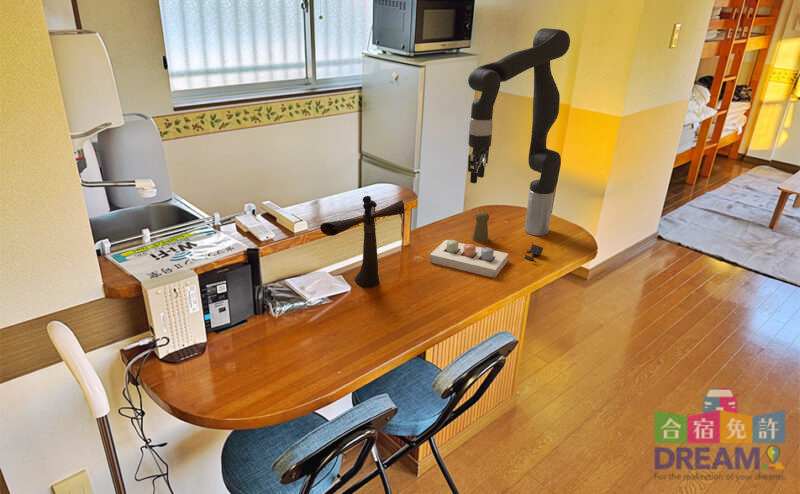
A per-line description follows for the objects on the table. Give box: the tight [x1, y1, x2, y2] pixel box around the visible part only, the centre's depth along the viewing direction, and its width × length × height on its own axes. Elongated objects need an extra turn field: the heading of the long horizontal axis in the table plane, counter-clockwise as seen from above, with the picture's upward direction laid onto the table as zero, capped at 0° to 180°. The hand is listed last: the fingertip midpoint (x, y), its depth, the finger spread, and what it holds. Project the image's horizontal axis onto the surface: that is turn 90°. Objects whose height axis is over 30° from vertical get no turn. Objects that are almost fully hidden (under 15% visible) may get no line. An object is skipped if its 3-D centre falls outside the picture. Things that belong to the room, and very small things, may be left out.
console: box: [429, 239, 509, 279], centre depth 193 cm, size 14×24×3 cm, turn 62°
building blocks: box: [524, 243, 544, 262], centre depth 196 cm, size 3×6×8 cm
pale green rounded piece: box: [445, 239, 459, 254], centre depth 194 cm, size 4×4×4 cm
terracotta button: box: [462, 243, 477, 258], centre depth 192 cm, size 4×4×4 cm
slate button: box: [480, 247, 495, 262], centre depth 189 cm, size 4×4×4 cm
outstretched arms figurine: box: [319, 195, 406, 288], centre depth 173 cm, size 32×10×30 cm, turn 130°
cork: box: [472, 210, 490, 243], centre depth 208 cm, size 6×6×11 cm
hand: (477, 179), depth 189 cm, fingers open, 6 cm apart
